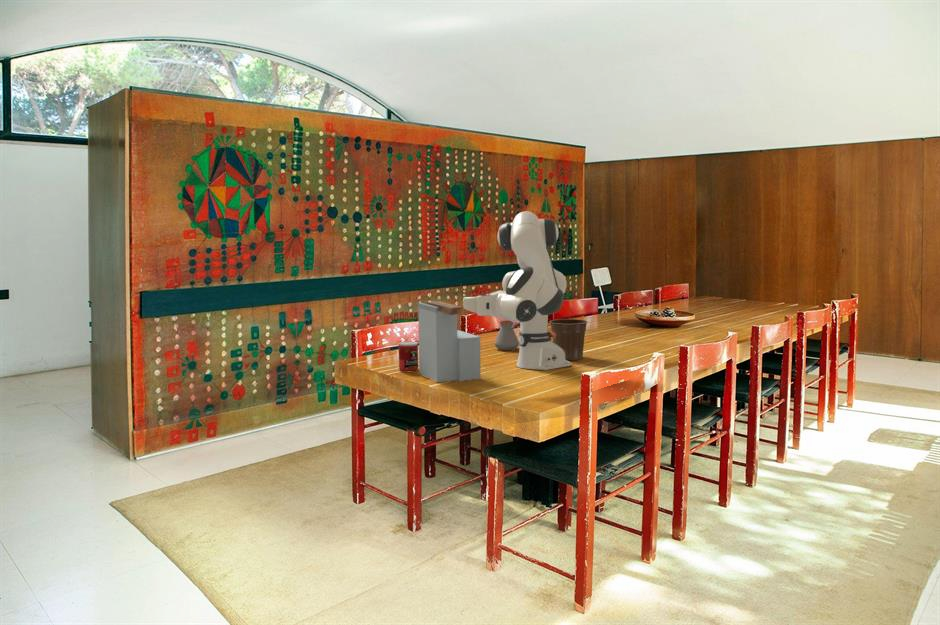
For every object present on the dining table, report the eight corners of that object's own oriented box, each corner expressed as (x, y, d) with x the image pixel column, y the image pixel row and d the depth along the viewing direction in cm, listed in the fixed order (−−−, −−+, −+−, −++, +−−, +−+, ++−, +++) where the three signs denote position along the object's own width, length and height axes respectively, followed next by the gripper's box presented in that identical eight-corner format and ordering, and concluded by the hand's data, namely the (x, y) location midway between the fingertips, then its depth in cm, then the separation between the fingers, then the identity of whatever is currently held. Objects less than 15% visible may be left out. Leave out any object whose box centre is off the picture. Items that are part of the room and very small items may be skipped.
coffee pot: (489, 348, 332) (489, 316, 330) (511, 346, 337) (511, 315, 335) (512, 356, 313) (512, 322, 311) (535, 353, 318) (535, 320, 316)
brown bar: (437, 307, 274) (437, 301, 274) (462, 314, 254) (462, 307, 254) (426, 308, 272) (426, 301, 272) (450, 314, 252) (450, 307, 252)
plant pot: (541, 357, 309) (541, 320, 307) (568, 353, 319) (568, 317, 317) (567, 363, 296) (568, 324, 294) (594, 358, 306) (595, 321, 304)
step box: (459, 369, 285) (458, 300, 281) (480, 378, 268) (480, 305, 264) (419, 373, 277) (418, 303, 274) (439, 383, 260) (437, 308, 257)
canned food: (405, 372, 280) (405, 345, 278) (395, 369, 286) (394, 342, 285) (422, 370, 284) (421, 343, 283) (411, 367, 290) (411, 340, 289)
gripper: (530, 293, 235) (509, 288, 247) (474, 296, 226) (456, 291, 238) (529, 312, 236) (509, 306, 248) (474, 316, 227) (456, 310, 239)
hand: (482, 299), depth 243 cm, fingers open, 8 cm apart
